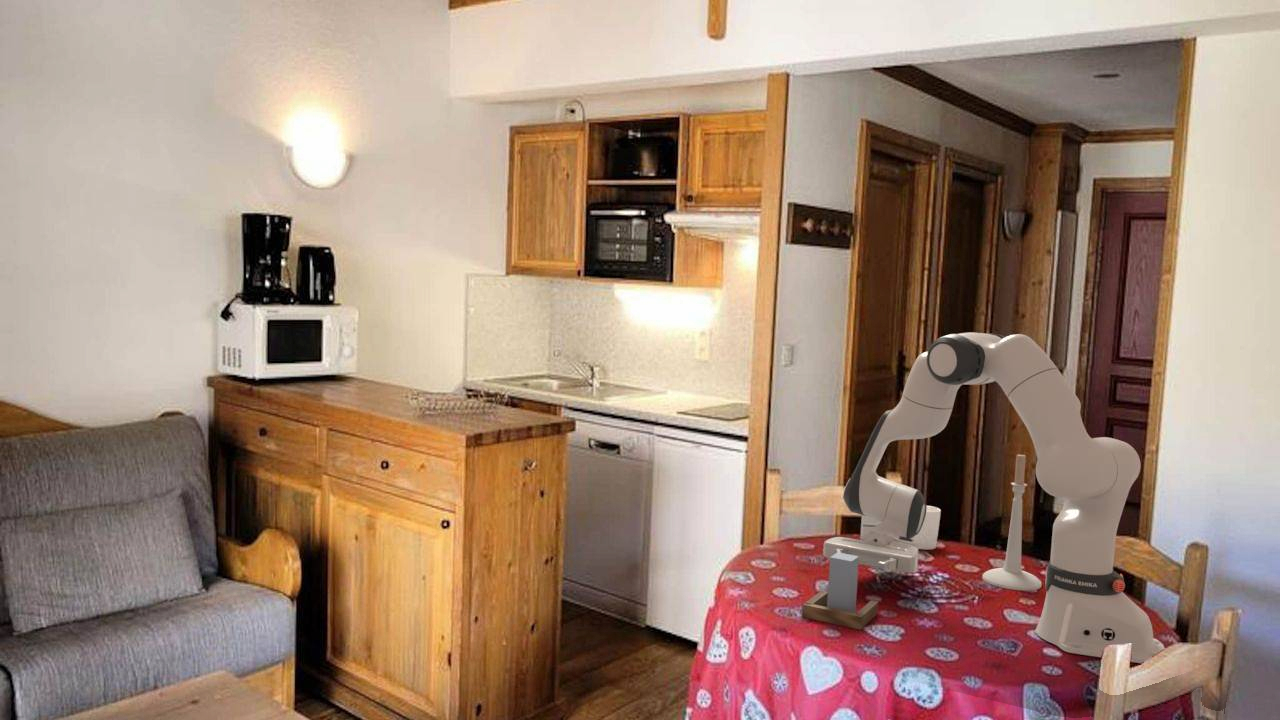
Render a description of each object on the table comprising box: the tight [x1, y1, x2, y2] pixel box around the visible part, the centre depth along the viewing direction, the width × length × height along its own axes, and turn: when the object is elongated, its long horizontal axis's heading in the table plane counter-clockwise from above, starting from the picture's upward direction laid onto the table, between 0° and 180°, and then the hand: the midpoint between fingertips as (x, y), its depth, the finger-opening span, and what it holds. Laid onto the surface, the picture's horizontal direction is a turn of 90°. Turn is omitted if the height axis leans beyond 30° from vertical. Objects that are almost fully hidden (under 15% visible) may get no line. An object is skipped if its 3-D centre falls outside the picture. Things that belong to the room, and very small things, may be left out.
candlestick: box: [981, 453, 1043, 592], centre depth 225 cm, size 13×13×30 cm
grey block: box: [826, 552, 859, 613], centre depth 198 cm, size 4×4×12 cm
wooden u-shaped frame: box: [801, 589, 879, 631], centre depth 198 cm, size 12×11×2 cm
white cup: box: [913, 505, 942, 551], centre depth 254 cm, size 8×8×10 cm
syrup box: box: [860, 515, 882, 538], centre depth 256 cm, size 6×6×14 cm
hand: (860, 562), depth 208 cm, fingers open, 8 cm apart
